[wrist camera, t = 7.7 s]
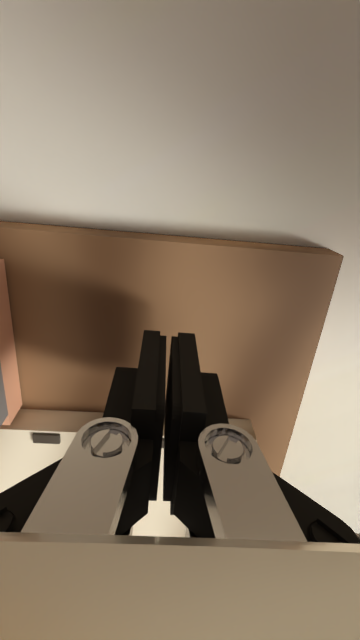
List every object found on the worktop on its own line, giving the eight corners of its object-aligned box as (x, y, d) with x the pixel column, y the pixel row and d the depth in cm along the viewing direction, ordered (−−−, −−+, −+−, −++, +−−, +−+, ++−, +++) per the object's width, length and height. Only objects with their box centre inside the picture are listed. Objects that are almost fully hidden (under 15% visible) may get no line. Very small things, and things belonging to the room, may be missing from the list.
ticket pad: (328, 248, 13) (363, 266, 10) (236, 587, 22) (245, 637, 19) (-180, 206, 12) (-266, 215, 9) (-55, 584, 20) (-83, 637, 18)
